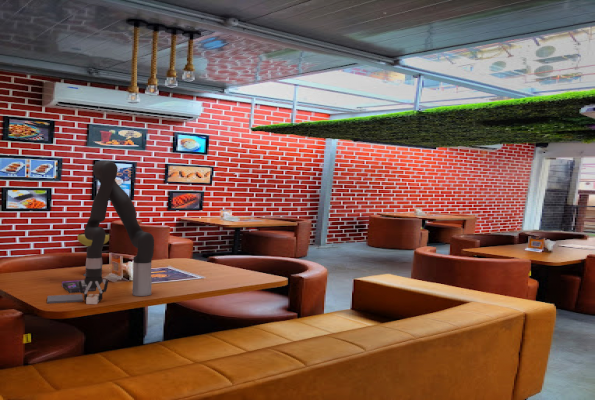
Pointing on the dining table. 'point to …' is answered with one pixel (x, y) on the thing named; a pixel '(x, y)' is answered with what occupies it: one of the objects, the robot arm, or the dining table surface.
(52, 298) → the rubber mat
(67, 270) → the dining table surface
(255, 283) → the dining table surface
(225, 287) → the dining table surface
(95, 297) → the white rectangular block
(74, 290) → the box
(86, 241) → the cocktail glass
